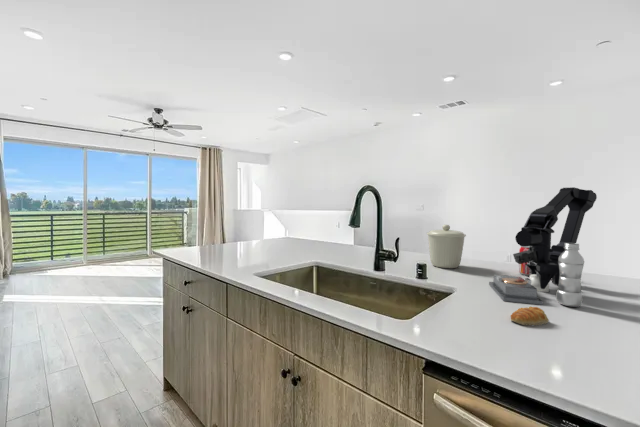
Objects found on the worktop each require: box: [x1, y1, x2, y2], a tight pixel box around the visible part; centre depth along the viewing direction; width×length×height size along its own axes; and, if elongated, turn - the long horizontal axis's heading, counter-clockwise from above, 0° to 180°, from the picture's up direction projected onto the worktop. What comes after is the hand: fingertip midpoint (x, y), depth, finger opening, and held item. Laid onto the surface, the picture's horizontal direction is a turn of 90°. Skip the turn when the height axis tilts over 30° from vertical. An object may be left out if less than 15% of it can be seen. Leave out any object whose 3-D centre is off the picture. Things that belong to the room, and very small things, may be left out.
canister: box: [426, 224, 467, 269], centre depth 149 cm, size 18×18×21 cm
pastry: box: [510, 306, 550, 327], centre depth 82 cm, size 9×7×4 cm
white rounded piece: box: [529, 272, 550, 293], centre depth 111 cm, size 6×6×6 cm
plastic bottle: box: [555, 242, 585, 308], centre depth 94 cm, size 6×7×20 cm
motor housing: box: [488, 274, 543, 306], centre depth 106 cm, size 11×20×6 cm, turn 162°
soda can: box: [518, 246, 531, 277], centre depth 133 cm, size 7×7×13 cm
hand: (539, 286), depth 111 cm, fingers closed on white rounded piece, 6 cm apart
